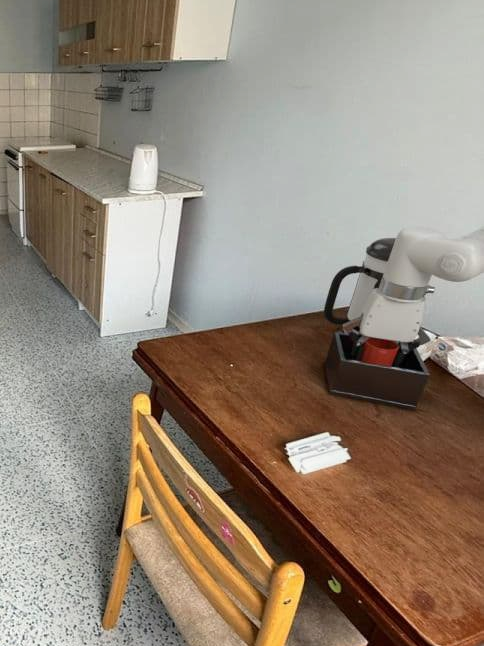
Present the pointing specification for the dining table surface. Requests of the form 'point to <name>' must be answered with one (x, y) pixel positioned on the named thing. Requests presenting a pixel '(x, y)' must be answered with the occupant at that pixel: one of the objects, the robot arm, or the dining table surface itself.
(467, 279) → the robot arm
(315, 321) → the dining table surface
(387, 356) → the cup
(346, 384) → the dark open box
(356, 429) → the dining table surface
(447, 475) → the dining table surface
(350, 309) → the coffee press
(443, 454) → the dining table surface
